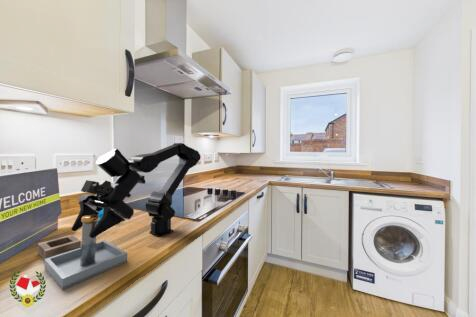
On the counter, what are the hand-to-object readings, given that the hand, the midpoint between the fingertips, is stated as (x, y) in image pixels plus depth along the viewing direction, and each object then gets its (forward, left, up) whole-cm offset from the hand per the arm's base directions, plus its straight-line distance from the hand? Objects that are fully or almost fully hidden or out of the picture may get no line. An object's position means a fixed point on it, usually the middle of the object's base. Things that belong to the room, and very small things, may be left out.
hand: (81, 233), depth 51 cm
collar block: (+1, -15, -9) cm, 18 cm away
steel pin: (-1, 0, -8) cm, 9 cm away
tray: (-1, 0, -9) cm, 9 cm away
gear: (-17, -32, -9) cm, 37 cm away
